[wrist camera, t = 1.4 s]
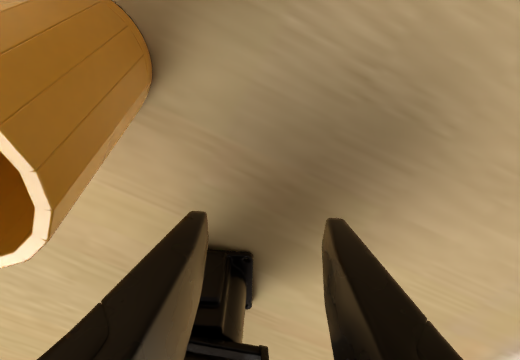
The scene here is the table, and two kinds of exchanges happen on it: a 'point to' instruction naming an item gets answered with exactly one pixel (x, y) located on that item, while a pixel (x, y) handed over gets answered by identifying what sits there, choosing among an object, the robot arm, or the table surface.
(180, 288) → the robot arm
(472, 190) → the table surface
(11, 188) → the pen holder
